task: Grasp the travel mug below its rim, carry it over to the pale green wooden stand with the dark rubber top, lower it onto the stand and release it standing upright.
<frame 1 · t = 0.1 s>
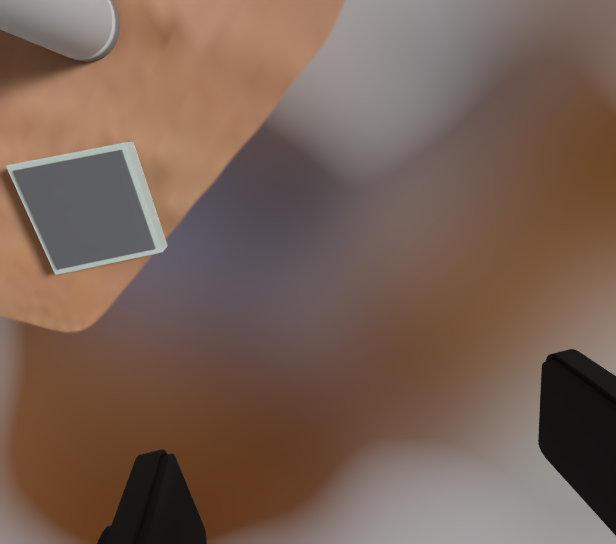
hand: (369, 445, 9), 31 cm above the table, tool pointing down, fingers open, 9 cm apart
travel mug: (79, 17, 31), on the table
stand: (98, 207, 36), on the table
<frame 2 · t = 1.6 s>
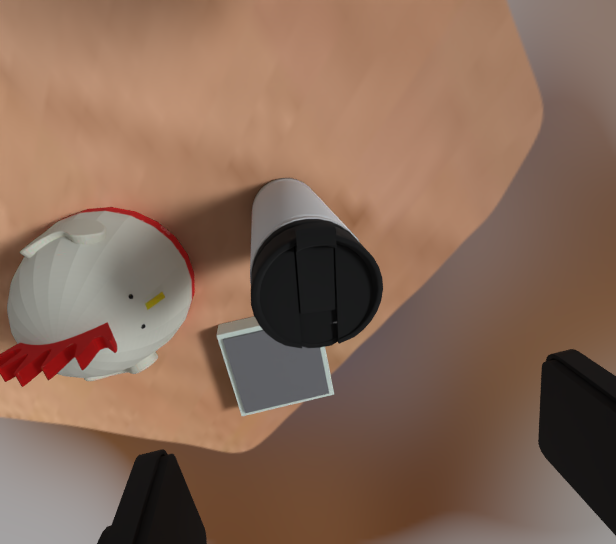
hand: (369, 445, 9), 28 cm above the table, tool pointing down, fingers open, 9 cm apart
travel mug: (285, 209, 36), on the table
kitchen timer: (119, 280, 36), on the table
stand: (277, 354, 41), on the table
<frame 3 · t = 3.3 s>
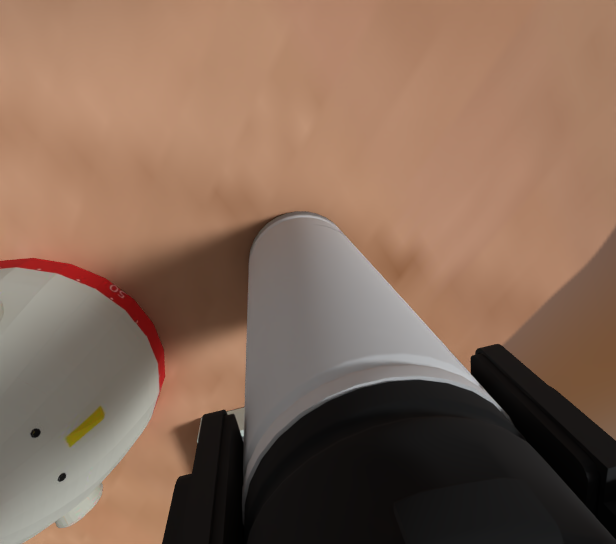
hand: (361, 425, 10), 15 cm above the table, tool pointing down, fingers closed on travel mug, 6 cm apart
travel mug: (299, 256, 24), on the table, touching gripper
kitchen timer: (51, 361, 24), on the table
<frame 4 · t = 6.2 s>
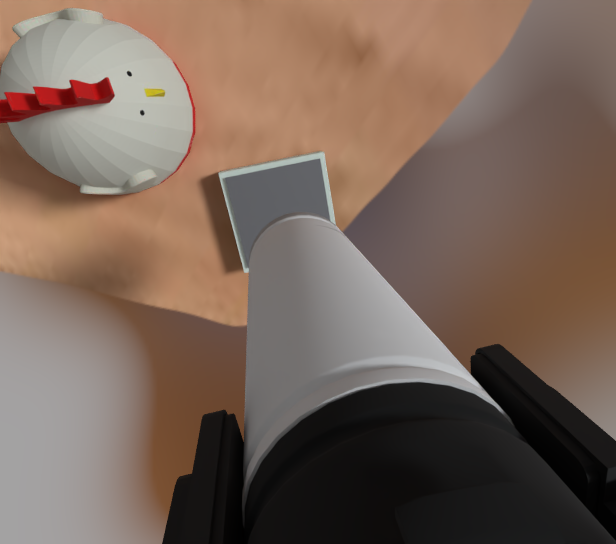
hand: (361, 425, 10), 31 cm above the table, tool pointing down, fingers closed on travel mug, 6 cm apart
travel mug: (299, 257, 24), point 16 cm above the table, touching gripper
kitchen timer: (117, 113, 35), on the table
stand: (281, 210, 39), on the table
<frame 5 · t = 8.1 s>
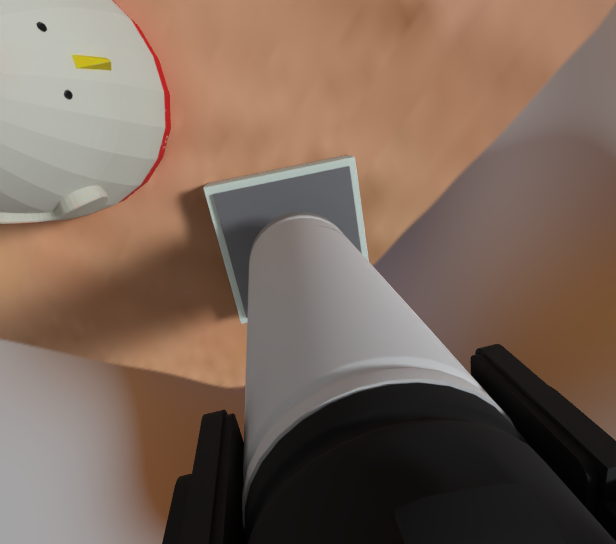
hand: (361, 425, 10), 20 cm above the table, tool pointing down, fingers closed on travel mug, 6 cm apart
travel mug: (299, 257, 24), point 5 cm above the table, touching gripper
kitchen timer: (56, 101, 24), on the table
stand: (291, 236, 29), on the table
when the fingers open (18 cm above the table, at t = 9.5 s): travel mug stays where it is, resting on stand.
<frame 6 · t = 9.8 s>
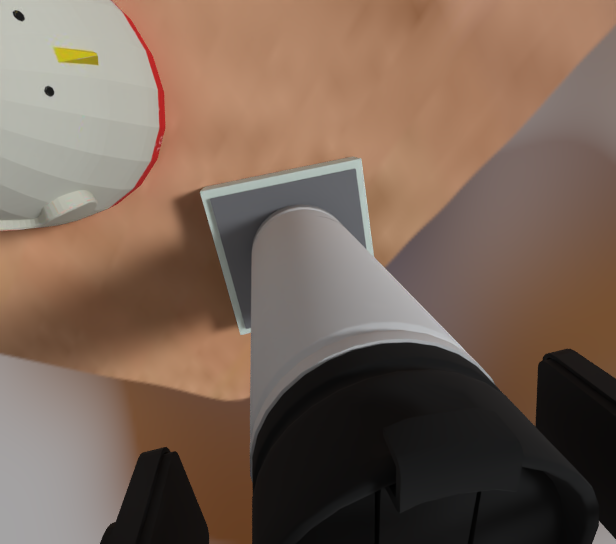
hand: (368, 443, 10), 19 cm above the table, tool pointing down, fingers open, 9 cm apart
travel mug: (299, 248, 25), point 2 cm above the table, touching stand
kitchen timer: (42, 99, 22), on the table
stand: (294, 243, 27), on the table
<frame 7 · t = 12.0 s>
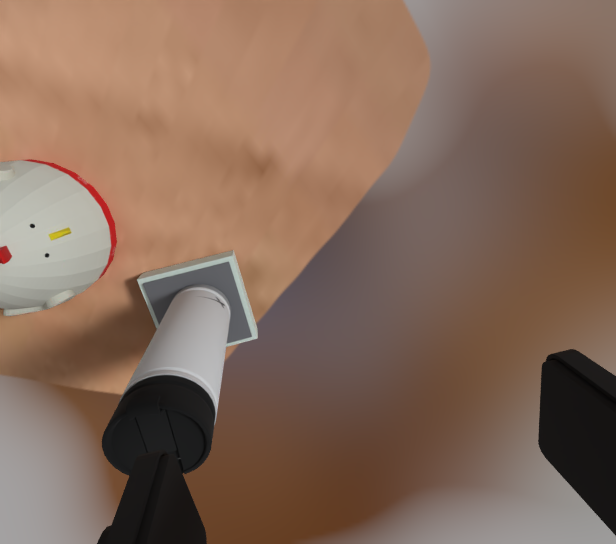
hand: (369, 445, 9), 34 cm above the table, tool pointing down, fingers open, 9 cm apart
travel mug: (201, 308, 41), point 2 cm above the table, touching stand
kitchen timer: (44, 230, 39), on the table
stand: (202, 302, 43), on the table
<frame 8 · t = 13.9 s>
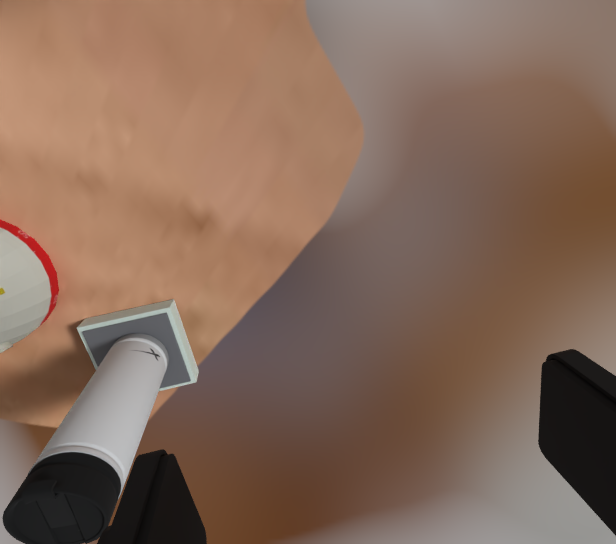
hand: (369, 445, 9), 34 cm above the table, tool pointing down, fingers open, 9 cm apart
travel mug: (140, 354, 43), point 2 cm above the table, touching stand
stand: (144, 346, 45), on the table
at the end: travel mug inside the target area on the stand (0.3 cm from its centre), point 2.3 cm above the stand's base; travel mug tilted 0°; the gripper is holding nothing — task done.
